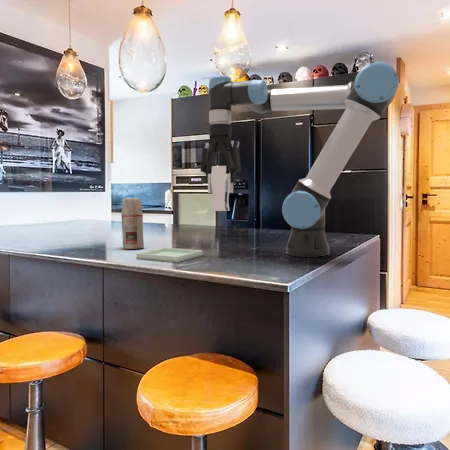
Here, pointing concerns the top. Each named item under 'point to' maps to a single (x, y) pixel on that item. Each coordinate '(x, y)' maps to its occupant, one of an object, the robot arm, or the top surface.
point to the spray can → (132, 223)
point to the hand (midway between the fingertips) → (220, 192)
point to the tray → (170, 255)
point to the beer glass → (220, 188)
